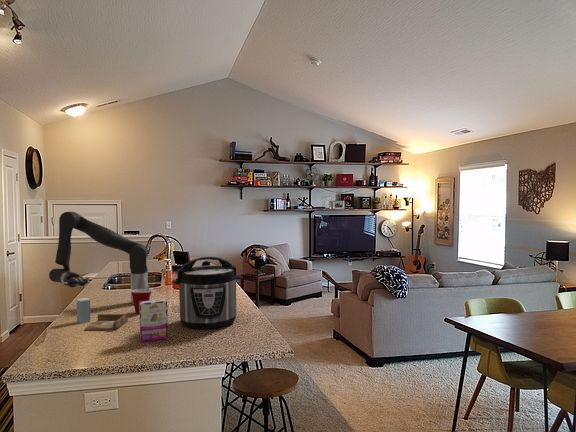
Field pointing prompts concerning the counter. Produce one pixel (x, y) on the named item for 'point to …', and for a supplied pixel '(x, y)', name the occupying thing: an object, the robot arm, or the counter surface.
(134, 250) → the robot arm
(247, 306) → the counter surface
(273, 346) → the counter surface
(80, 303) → the block
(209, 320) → the pressure cooker
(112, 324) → the shallow wooden tray
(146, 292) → the plastic cup
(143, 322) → the candy bar box
